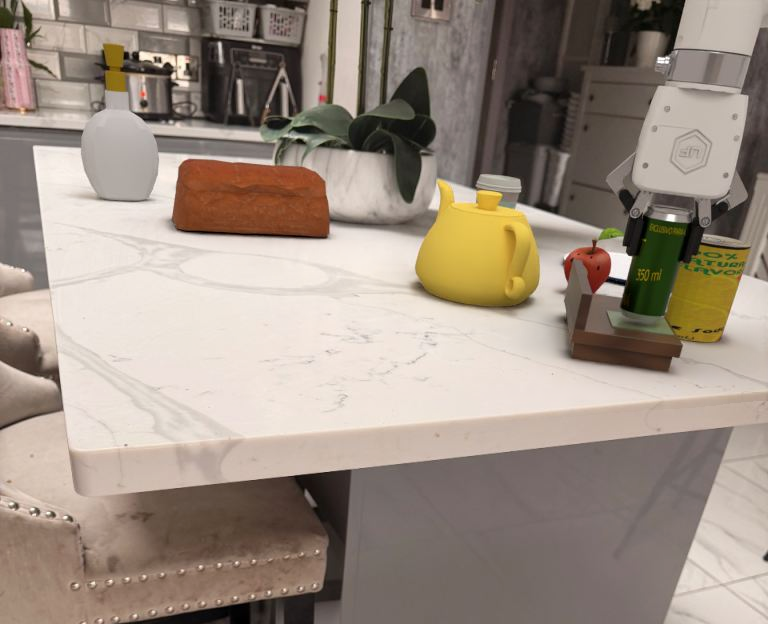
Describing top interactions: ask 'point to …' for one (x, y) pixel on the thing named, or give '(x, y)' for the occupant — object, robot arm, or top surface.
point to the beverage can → (707, 289)
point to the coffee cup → (501, 188)
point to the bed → (614, 329)
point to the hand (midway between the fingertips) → (657, 256)
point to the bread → (250, 199)
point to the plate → (617, 266)
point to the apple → (593, 260)
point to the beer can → (656, 263)
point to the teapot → (479, 252)
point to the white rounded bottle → (119, 141)
